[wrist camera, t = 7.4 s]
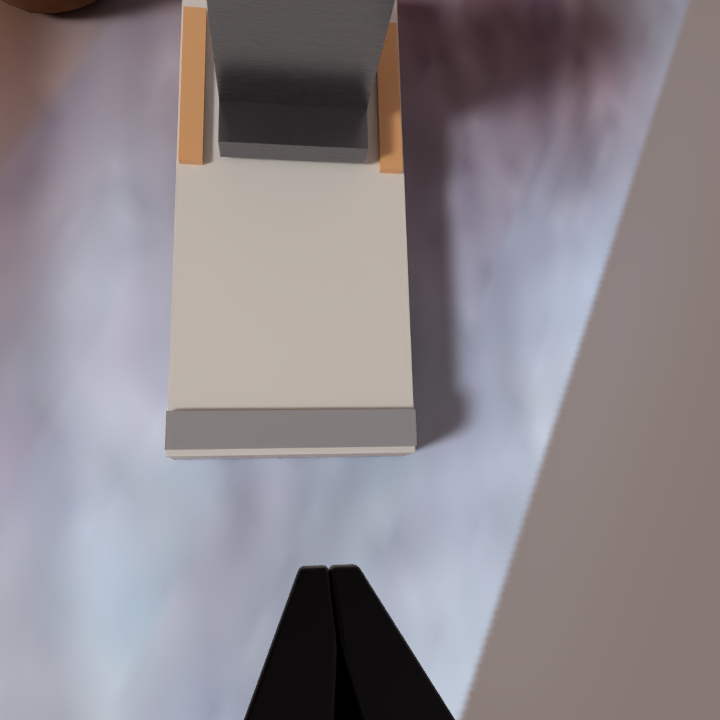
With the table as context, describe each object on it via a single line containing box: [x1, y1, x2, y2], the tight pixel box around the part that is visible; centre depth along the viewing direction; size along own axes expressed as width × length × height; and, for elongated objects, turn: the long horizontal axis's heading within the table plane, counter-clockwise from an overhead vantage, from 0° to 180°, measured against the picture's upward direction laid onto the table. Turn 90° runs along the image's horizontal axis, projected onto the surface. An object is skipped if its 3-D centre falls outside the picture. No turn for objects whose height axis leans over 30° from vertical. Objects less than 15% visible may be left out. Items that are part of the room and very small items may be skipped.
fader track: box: [165, 0, 417, 460], centre depth 24 cm, size 18×8×2 cm, turn 1°
